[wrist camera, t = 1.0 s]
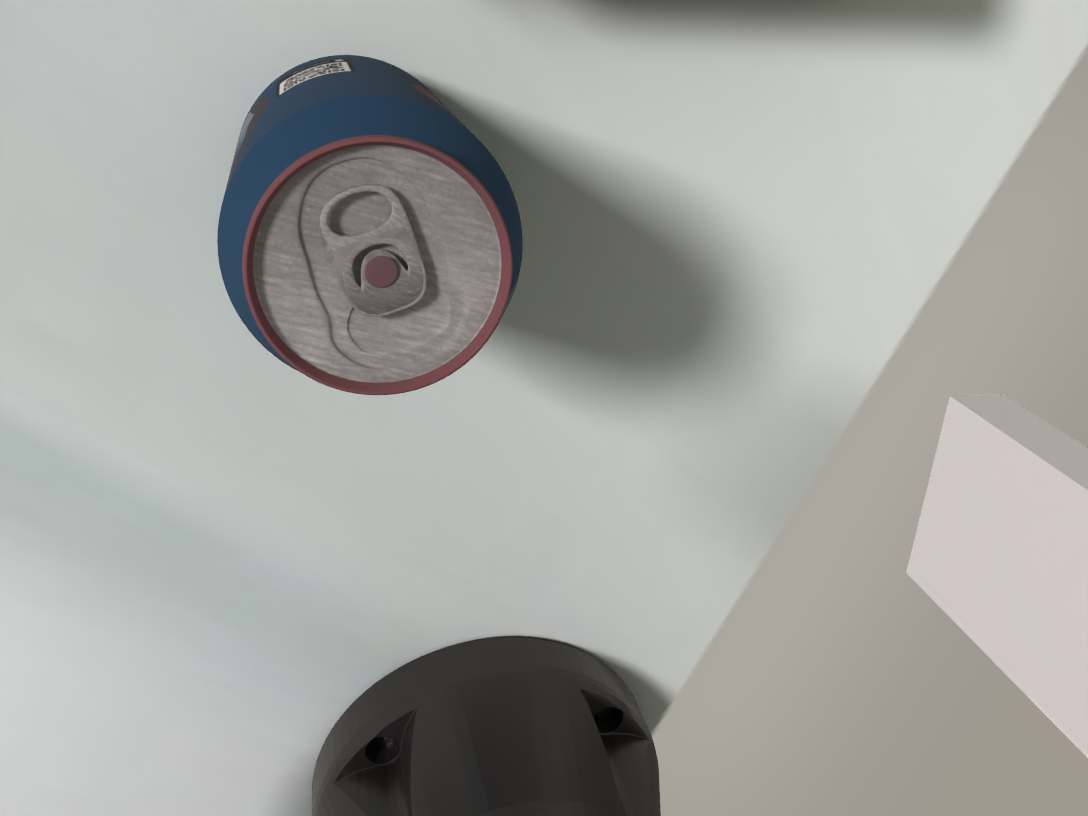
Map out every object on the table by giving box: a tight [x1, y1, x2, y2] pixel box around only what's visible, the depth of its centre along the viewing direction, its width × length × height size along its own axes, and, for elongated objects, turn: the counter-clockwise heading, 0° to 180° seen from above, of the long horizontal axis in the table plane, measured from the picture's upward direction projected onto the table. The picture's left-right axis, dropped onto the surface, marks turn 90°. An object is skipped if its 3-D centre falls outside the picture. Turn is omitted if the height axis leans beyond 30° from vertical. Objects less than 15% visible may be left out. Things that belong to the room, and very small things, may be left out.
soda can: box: [218, 55, 522, 395], centre depth 26 cm, size 7×7×12 cm
